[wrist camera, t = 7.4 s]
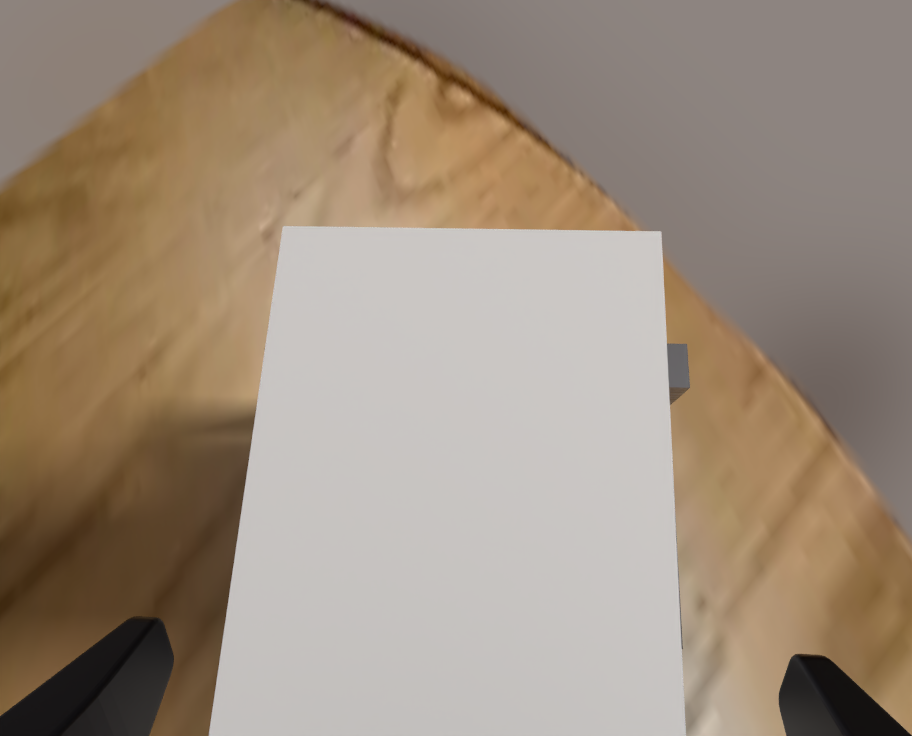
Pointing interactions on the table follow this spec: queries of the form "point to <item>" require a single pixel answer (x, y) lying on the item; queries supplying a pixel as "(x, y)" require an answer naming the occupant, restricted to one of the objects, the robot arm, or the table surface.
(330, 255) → the block
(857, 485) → the table surface
